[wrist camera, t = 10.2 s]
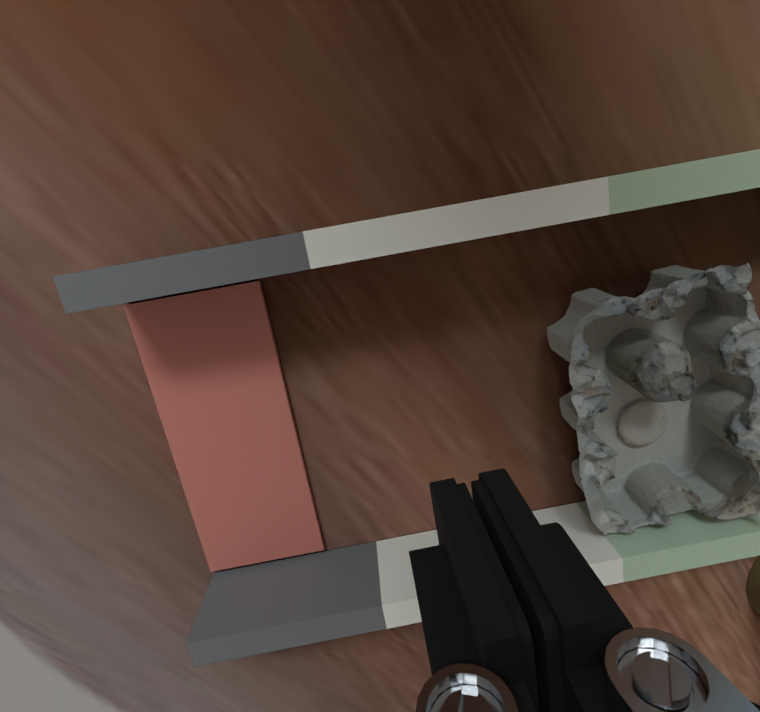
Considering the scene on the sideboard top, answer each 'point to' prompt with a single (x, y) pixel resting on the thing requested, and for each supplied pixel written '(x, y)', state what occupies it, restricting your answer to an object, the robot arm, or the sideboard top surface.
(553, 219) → the frame
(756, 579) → the cork
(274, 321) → the sideboard top surface
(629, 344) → the egg carton
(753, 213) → the sideboard top surface
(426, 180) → the sideboard top surface
